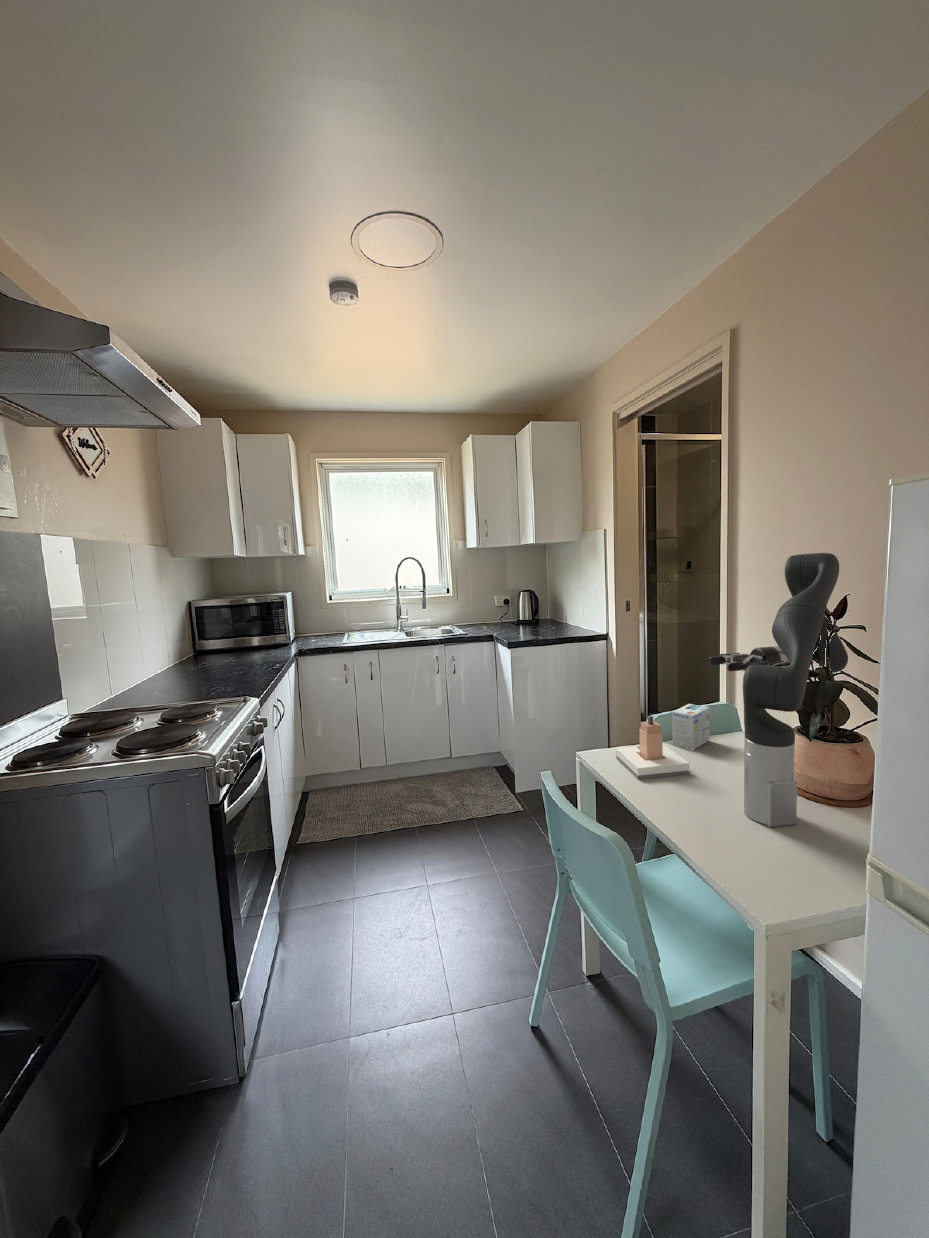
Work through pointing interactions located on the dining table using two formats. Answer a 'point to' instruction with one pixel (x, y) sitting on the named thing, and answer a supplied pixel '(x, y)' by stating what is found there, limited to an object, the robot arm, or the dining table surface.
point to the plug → (651, 740)
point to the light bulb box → (690, 726)
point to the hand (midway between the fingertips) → (718, 664)
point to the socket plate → (652, 763)
